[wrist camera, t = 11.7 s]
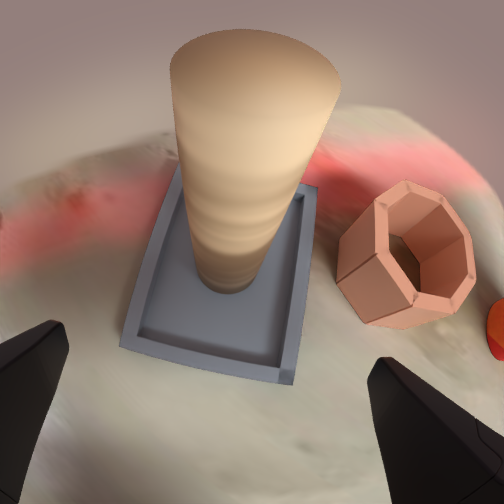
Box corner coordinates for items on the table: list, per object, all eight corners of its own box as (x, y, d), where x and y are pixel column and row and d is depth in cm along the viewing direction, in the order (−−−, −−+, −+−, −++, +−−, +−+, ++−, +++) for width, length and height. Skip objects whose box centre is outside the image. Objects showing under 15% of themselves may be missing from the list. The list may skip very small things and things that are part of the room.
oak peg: (264, 287, 16) (369, 119, 5) (202, 299, 16) (174, 127, 4) (250, 231, 17) (306, 32, 6) (191, 240, 17) (168, 34, 5)
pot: (427, 332, 17) (478, 318, 13) (332, 318, 17) (373, 299, 12) (425, 235, 20) (465, 205, 15) (340, 210, 20) (372, 167, 15)
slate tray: (285, 383, 15) (292, 385, 14) (126, 348, 15) (118, 346, 13) (311, 199, 20) (317, 187, 18) (182, 171, 19) (181, 157, 18)
